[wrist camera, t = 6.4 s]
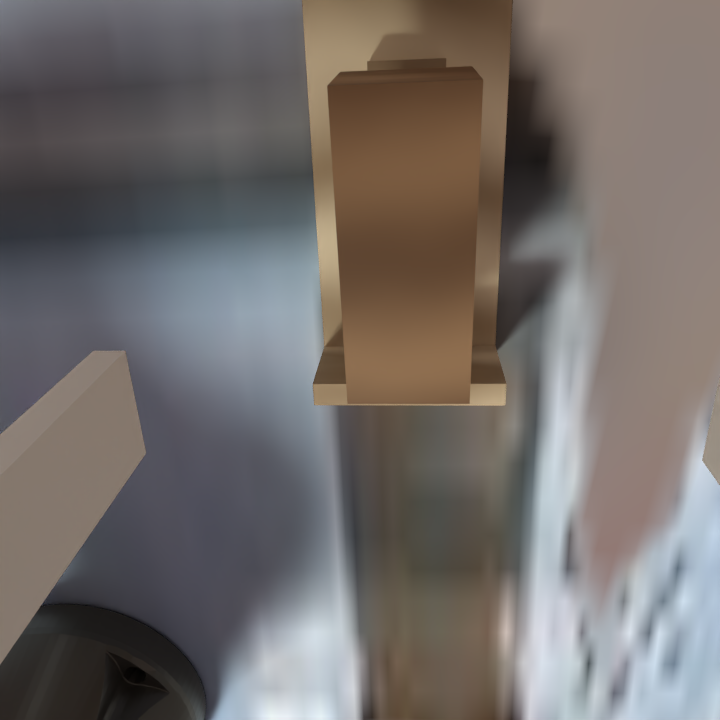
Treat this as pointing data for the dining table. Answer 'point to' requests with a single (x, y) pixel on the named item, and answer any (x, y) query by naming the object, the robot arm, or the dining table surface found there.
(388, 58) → the birch cradle
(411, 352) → the walnut bar
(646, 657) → the dining table surface
